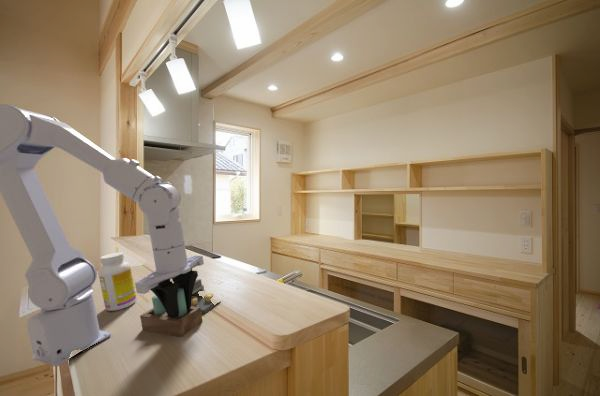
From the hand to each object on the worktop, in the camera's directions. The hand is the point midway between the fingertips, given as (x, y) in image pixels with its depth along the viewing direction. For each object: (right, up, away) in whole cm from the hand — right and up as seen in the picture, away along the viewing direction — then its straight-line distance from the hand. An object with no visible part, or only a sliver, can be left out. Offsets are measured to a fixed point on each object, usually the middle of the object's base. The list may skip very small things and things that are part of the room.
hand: (179, 312), depth 57 cm
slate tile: (+1, -2, +9) cm, 9 cm away
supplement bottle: (-20, -4, +14) cm, 25 cm away
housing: (-4, -2, +11) cm, 12 cm away
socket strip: (-2, -3, +1) cm, 4 cm away
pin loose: (0, -1, 0) cm, 2 cm away
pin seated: (-4, -3, +3) cm, 6 cm away
